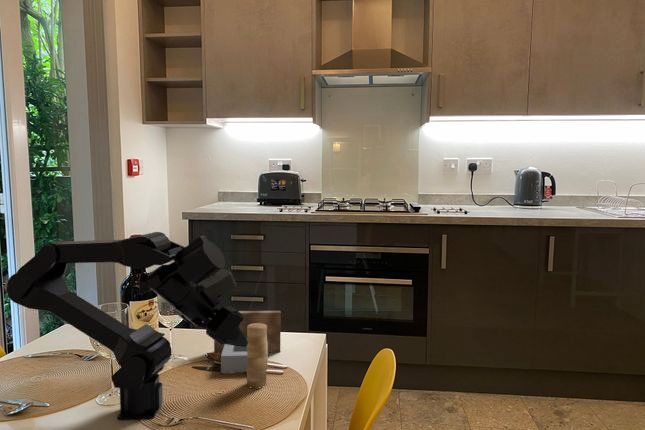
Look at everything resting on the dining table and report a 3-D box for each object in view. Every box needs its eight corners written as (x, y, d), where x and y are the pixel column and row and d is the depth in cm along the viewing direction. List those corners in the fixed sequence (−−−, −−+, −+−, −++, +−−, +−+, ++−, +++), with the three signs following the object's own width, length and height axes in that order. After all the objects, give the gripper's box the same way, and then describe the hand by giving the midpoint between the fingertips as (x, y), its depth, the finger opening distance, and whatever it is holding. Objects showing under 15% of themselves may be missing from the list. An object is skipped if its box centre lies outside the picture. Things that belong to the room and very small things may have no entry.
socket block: (221, 373, 102) (221, 355, 101) (226, 355, 112) (226, 339, 111) (266, 372, 103) (267, 355, 102) (267, 354, 113) (268, 338, 112)
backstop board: (214, 353, 113) (214, 313, 112) (215, 350, 114) (214, 311, 113) (280, 352, 114) (280, 312, 113) (280, 349, 116) (280, 310, 115)
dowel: (246, 389, 95) (246, 329, 94) (247, 380, 99) (247, 323, 98) (266, 388, 95) (266, 329, 94) (266, 379, 99) (267, 323, 98)
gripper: (234, 266, 80) (285, 317, 88) (189, 249, 94) (237, 294, 102) (190, 319, 76) (248, 367, 84) (151, 293, 90) (204, 336, 98)
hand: (234, 337), depth 92 cm, fingers open, 9 cm apart
